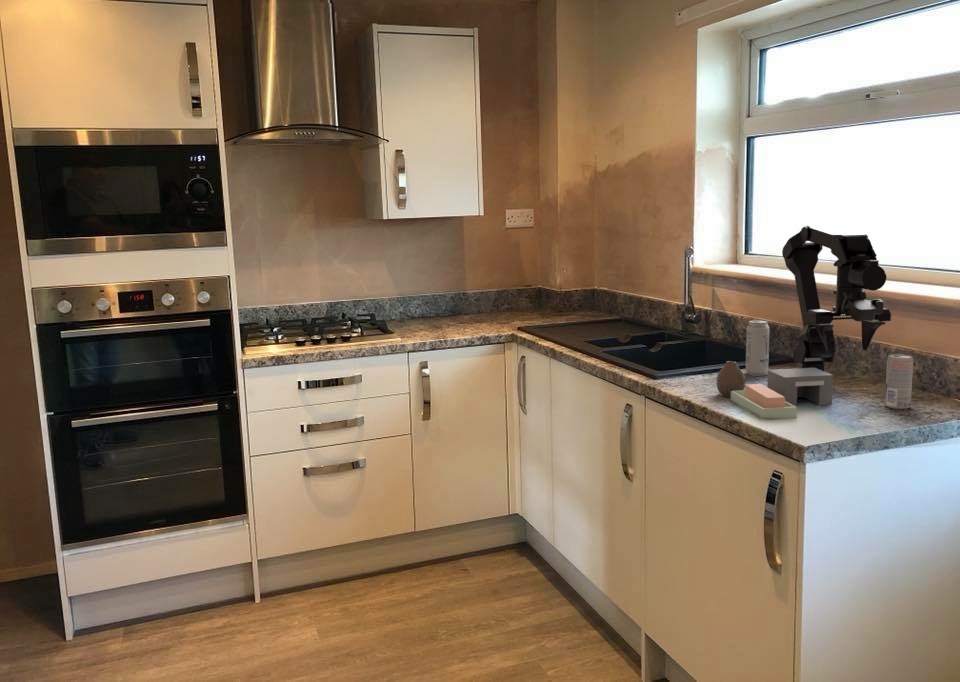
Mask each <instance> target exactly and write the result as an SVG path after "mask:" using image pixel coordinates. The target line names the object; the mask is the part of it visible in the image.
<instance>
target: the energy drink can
mask: <svg viewBox="0 0 960 682" xmlns="http://www.w3.org/2000/svg"><path fill="white" fill-rule="evenodd" d="M745 336H746V339H745V342H746V343H745V371H746V372H747V375H748V376H754V377H761V376H762V377H764V376H766V375H767V374H768V370H769V357H770V356H769V352H770V351H769V350H770V348H769V347H770V326H769V324H768V321H767V320H758V319H757V320H756V319H755V320H749V321H748V324H747V326H746V335H745Z"/></svg>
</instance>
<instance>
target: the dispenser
mask: <svg viewBox="0 0 960 682" xmlns="http://www.w3.org/2000/svg"><path fill="white" fill-rule="evenodd" d="M766 385H767V386H766V387H768V388H769V389H771V390H773V391H775V392H777V393H778V394H780V395H782V396H784V397H785V401H786V402H788V403H790V404H792V405H794V406H796V407H797V406H798V405H797V403H798V398H804V399H805V398H806V399H808V400H809V401H811V402H814V403H816V404H817V405H829V404H833V394H834V393H833V390H834V389H833V388H834V387H833V386H834V374H831V373H829V372H827V371H825V370H824V371H822V370H819V369H817V368H801V367H800V368H781V369H780V368H779V369H768V372H767V384H766Z"/></svg>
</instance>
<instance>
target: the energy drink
mask: <svg viewBox="0 0 960 682" xmlns="http://www.w3.org/2000/svg"><path fill="white" fill-rule="evenodd" d="M913 368H914V359H913V356H912V355H910V354H903V353H902V354H900V353H894V354H893V353H891V354H889V355H888V356H887V359H886V374H885V375H886V378H885V396H884V397H885V398H884V406H886V407H887V408H889V409H890V408H891V409H894V410H907V409H909V408H911V406H912V405H911V404H912V402H911V401H912V388H913V387H912V386H913V372H914V369H913Z"/></svg>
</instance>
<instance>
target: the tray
mask: <svg viewBox="0 0 960 682" xmlns="http://www.w3.org/2000/svg"><path fill="white" fill-rule="evenodd" d="M744 396H745V389H744V390H739V391H731V398H730V401H731V402H732V403H733V402H734V403H733V404H735V403H736V405H737V406H738V405H739V406H738V407H740V406H741V407H740V408H742V409H743V408H744V409H743V410H745V409H746V410H745V411H747V412H748V411H749V413H750V412H751V413H750V414H752V415H753V414H754V415H753V416H755V415H756V416H755V417H757V418H758V417H759V419H760V418H761V420H762V419H767V420H781V419H782V420H783V419H797V415H798V407H797V405H796V406H794V405H792V404H790V403H788V402H786V401H785V407H779V408H762V407H761V406H759V405H757V404H755V403H754V402H752V401H750V400H748V399H746V398H745V397H744Z"/></svg>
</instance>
